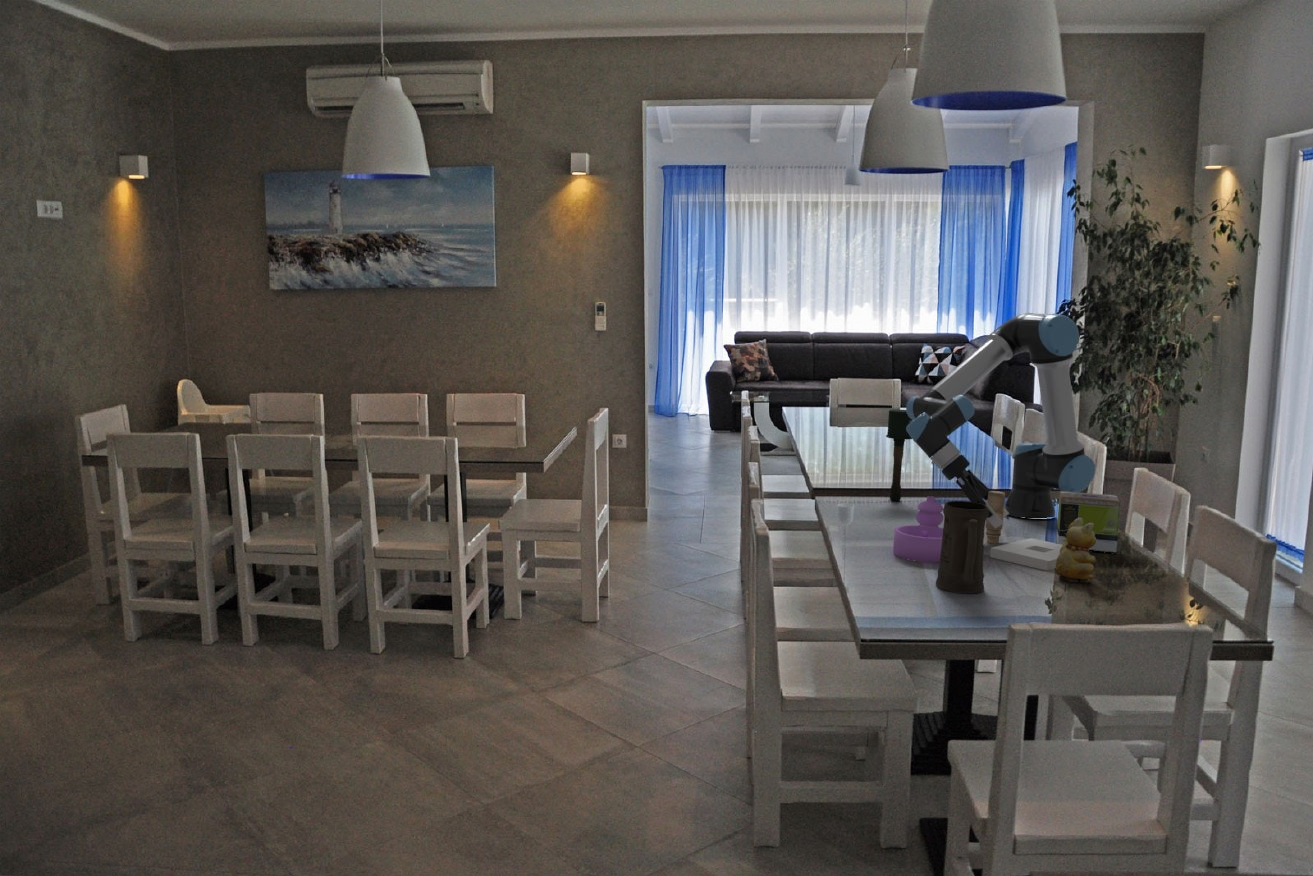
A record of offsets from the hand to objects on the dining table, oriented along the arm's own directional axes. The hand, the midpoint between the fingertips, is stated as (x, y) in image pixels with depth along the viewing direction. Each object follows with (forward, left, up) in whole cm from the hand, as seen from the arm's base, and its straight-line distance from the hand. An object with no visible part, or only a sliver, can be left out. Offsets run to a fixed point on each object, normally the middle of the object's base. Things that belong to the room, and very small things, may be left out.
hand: (1002, 521), depth 283 cm
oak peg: (+1, -2, -6) cm, 7 cm away
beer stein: (+51, +21, -6) cm, 55 cm away
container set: (+26, -7, -7) cm, 28 cm away
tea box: (-16, +16, -7) cm, 24 cm away
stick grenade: (-25, -54, -6) cm, 60 cm away
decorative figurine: (+20, +31, -6) cm, 37 cm away
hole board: (+7, +15, -6) cm, 18 cm away
